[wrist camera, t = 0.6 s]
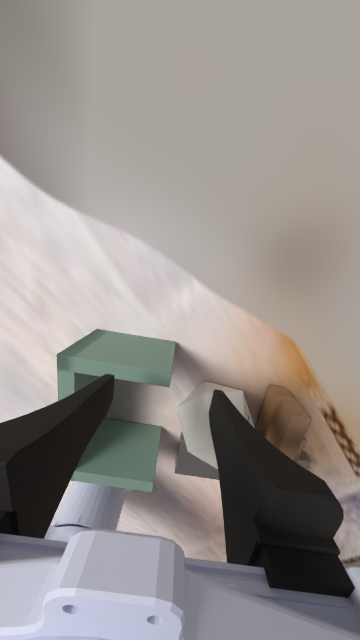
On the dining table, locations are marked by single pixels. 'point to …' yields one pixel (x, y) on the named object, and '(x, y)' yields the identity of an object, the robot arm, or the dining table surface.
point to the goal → (114, 435)
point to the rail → (199, 468)
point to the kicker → (283, 422)
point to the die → (205, 419)
